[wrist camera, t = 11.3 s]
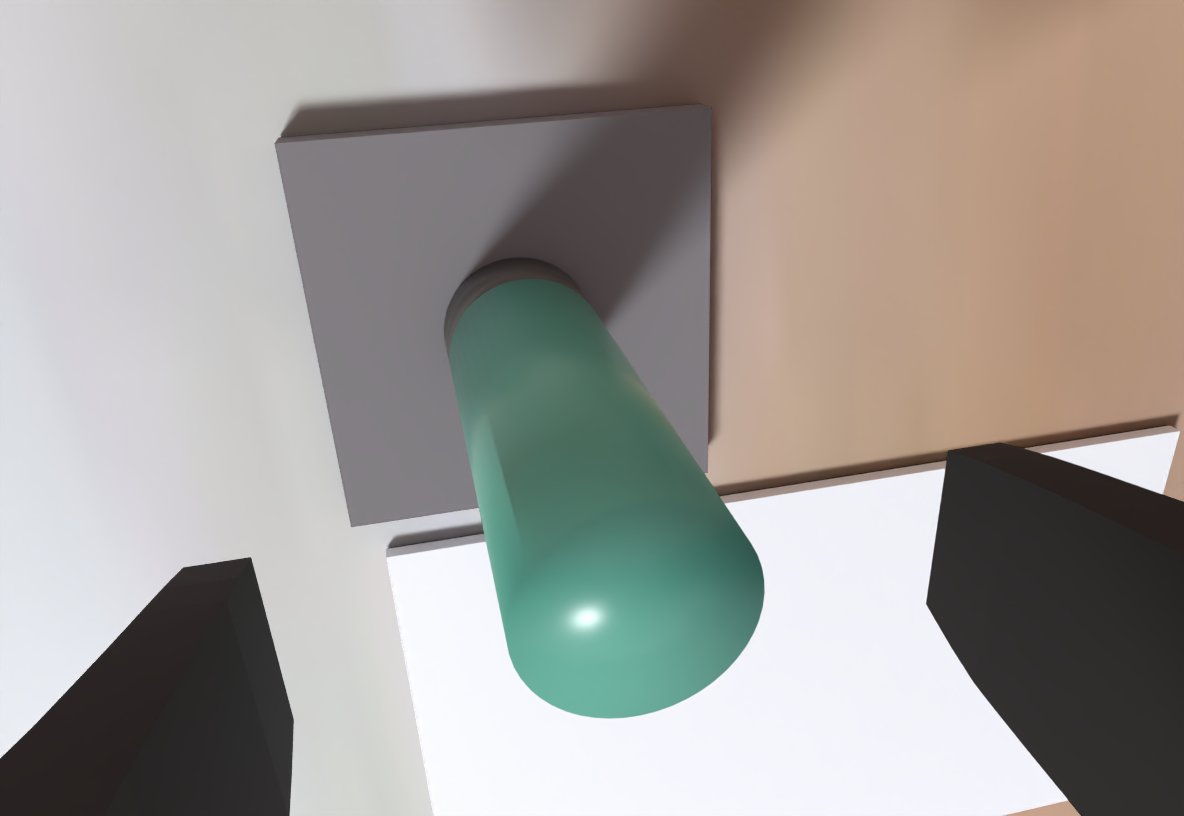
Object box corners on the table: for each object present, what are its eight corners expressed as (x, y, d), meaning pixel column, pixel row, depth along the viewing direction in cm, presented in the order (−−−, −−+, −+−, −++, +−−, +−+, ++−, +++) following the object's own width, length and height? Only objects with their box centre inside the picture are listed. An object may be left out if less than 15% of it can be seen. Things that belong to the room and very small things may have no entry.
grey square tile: (700, 103, 15) (711, 108, 15) (698, 458, 18) (708, 472, 18) (279, 138, 14) (274, 143, 14) (352, 510, 17) (351, 527, 17)
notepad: (1169, 425, 21) (1180, 431, 20) (1072, 789, 26) (1079, 797, 26) (386, 548, 18) (386, 557, 17) (456, 932, 23) (456, 942, 23)
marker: (586, 249, 15) (770, 481, 8) (593, 385, 16) (758, 691, 9) (435, 266, 15) (493, 525, 8) (452, 405, 16) (516, 741, 9)
